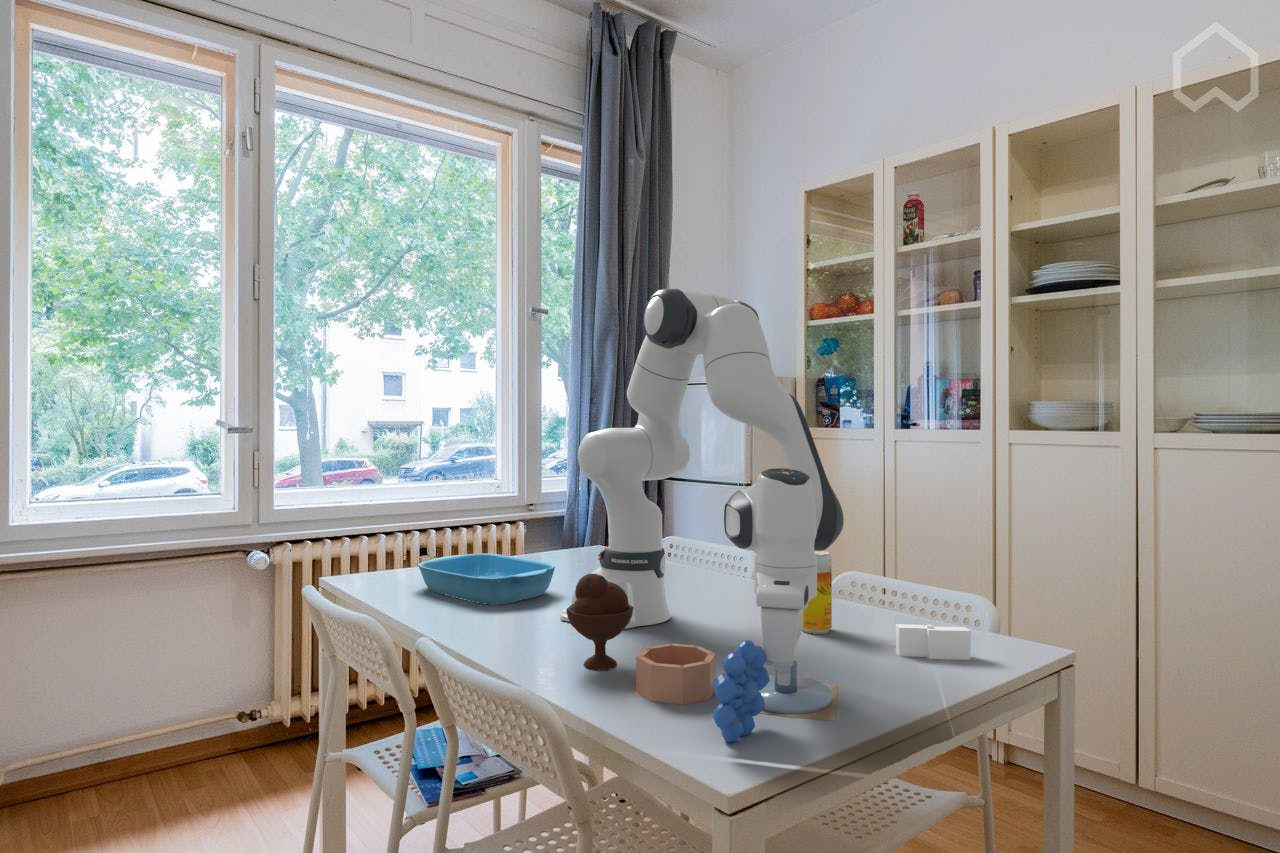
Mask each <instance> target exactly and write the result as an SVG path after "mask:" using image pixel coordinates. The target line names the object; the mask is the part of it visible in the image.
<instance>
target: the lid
mask: <svg viewBox="0 0 1280 853" xmlns="http://www.w3.org/2000/svg"><path fill="white" fill-rule="evenodd" d="M768 675H769V679H770V681H769V682H768V684H767V685H766V686H765V687H764V688H763V689H761V690H759V693H761V695H762V697H763V699H764V703H765V707H764V709H763V710H765V711H769V712H775V713H783V714H806V713H813V712H818V711H821V710H824V709H826V708H828V707H829V706H830V705H831V704H832V691H831V689H830V688H829V687H828V686H826V685H827V684H825V683H823V682H821V681H818V680H815V679H812V678H808V677H804V676H798V662H797V660H795V659H794V661H793V665H792V666H791V682H790V685H788V686H783V685H779V684H778V683H777V669H776V666H774V674H768Z"/></svg>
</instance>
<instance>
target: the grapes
mask: <svg viewBox="0 0 1280 853" xmlns="http://www.w3.org/2000/svg"><path fill="white" fill-rule="evenodd" d="M766 661H767V658H766V655H765V652H764V650H763V647H761V646H759V645H755V643H754V642H753V641H751V640H750V639H745V640H744V639H743V640H742V641H741V642H739V643H738V645H737V646H736V647H735V649H734V651H732V652H730V653H729V654H728V655H727V656H726V657H725V658H724V659H723V661H722V667H723V671H724V672H723V673H721V674H719V675H718V676H717V677H716V679H715V681H714V682H713V688H714V692H713V693H714V696H715V697H716V699H717V701H718V702H719V704H718V705H717V706H716V707H715V709H714V710H713V711H712V717H713V721H714V723H715V724H716V726H717V728H719V729H720V732H721V736H722V737H723V739H724V741H725V742H727V743H729V744H730V743H734V742H736V741H737V740H738V739H739V738H740V737H744V736H749V735H750V734H751V733H752V731H753V730H754V729H755V727H756V726H755V725H756V724H755V719H754V717H757V716H758V715H759V713H760V712H761V711H762V710H763V709H764V707H765V703H764V699H763V697H762V695H761V693H759V690H761V689H763V688H764V687H765V686H766V685H767V684H768V682H769V681H770V679H769V675H770V674H769V672H768V670H767V669H766V668H765V667H764V665H765V664H767V663H766Z"/></svg>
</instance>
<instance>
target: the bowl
mask: <svg viewBox="0 0 1280 853" xmlns="http://www.w3.org/2000/svg"><path fill="white" fill-rule="evenodd" d="M635 657H636V658H635V678H636V679H635V685H636V686H635V689H636V690H635V691H636V693H638V694H639V695H641V696H643V697H644V698H646V700H649V701H650V702H654V703H664V704H665V703H666V704H671V705H672V704H674V705H688V704H692V703H697V702H702V701H705V700H707V701H708V700H711V697H712V695H713V693H715V692H714V688H713V682H714V681H715V679H716V678H717V677H716V676H717V675H716V672H717V671H716V670H717V669H716V666H717V664H716V663H717V661H716V653H715V652H713V651H711V650H709V649H707V648H704V647H702V646H700V645H695V644H694V645H693V644H683V643H682V644H679V643H665V644H659V645H654V646H648V647H647V646H646V647H644V648H643V649H642V650H640V652H639V653H638V654H637V655H636V656H635Z"/></svg>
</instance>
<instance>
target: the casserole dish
mask: <svg viewBox="0 0 1280 853" xmlns="http://www.w3.org/2000/svg"><path fill="white" fill-rule="evenodd" d="M418 568H419V570H420V574H421V576H422V578H423V582H424V584H425V585H426V588H428V589H429V591H432V592H434V591H435V592H434V593H436V592H438V593H437V594H439V593H442V594H441V595H443V594H447V595H450V596H454V597H458V598H462V599H466V600H470V601H474V602H473V603H475V602H479V603H486V604H501V605H504V604H503V603H507V604H511V603H510V602H512V603H516V602H520V601H522V599H525V600H528V599H527V598H530V599H532V598H531V597H534V598H536V597H535V596H538V597H540V596H542V595H543V594H544V593H545V592H546V591H547V590H548V588H549V586H550V584H551V582H552V578H553V575H554V572H555V569H556V566H555V565H554V564H552V563H550V562H549V563H548V562H544V561H538V560H533V559H527V558H522V557H521V558H520V557H515V556H510V555H504V554H497V553H489V552H487V553H479V552H478V553H469V554H457V555H450V556H448V555H447V556H441V557H436V558H431V559H430V560H426V561H422V562H420V563H419V564H418ZM541 594H542V595H541ZM539 595H540V596H539ZM450 596H449V597H450ZM454 597H453V598H454ZM458 598H457V599H458ZM462 599H461V600H462ZM466 600H465V601H466ZM519 600H520V601H519ZM470 601H469V602H470ZM515 601H516V602H515ZM479 603H478V604H479ZM486 604H485V605H486Z"/></svg>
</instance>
